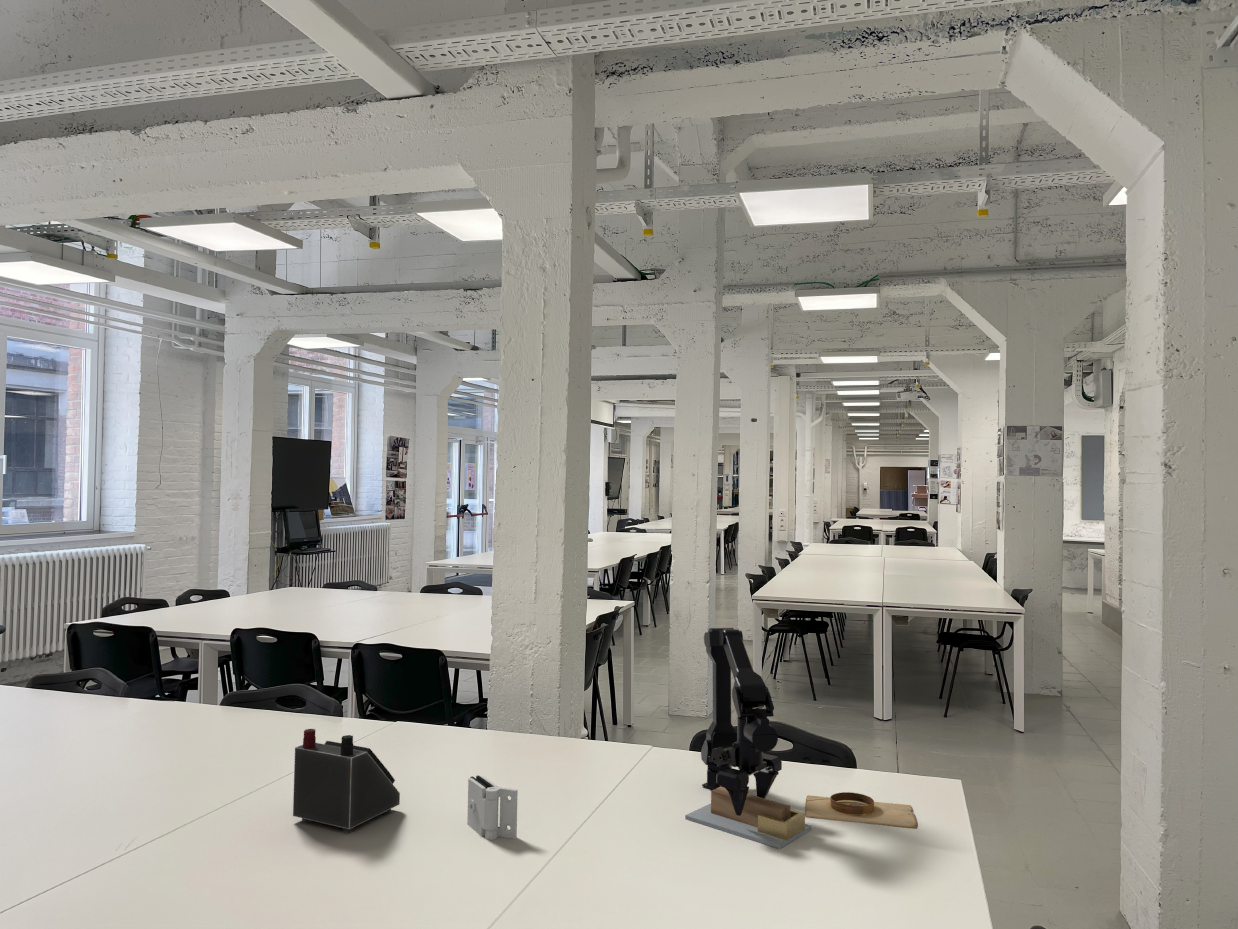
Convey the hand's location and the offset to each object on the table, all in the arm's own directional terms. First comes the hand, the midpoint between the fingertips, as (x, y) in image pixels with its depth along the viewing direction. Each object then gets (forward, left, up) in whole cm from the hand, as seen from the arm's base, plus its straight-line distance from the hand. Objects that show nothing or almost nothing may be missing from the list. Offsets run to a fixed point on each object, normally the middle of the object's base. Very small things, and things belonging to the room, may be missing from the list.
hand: (749, 809), depth 185 cm
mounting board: (0, 0, -3) cm, 3 cm away
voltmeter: (+57, -69, -4) cm, 90 cm away
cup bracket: (0, +8, -3) cm, 8 cm away
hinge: (+41, -39, -4) cm, 57 cm away
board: (-24, +15, -4) cm, 29 cm away
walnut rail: (0, 0, -2) cm, 2 cm away
